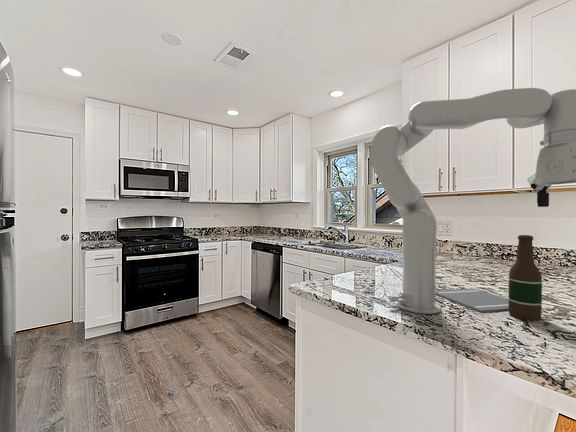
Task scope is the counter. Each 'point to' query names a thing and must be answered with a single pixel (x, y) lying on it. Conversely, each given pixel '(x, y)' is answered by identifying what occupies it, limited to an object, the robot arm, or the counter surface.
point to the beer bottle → (525, 283)
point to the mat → (476, 299)
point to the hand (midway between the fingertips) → (562, 206)
